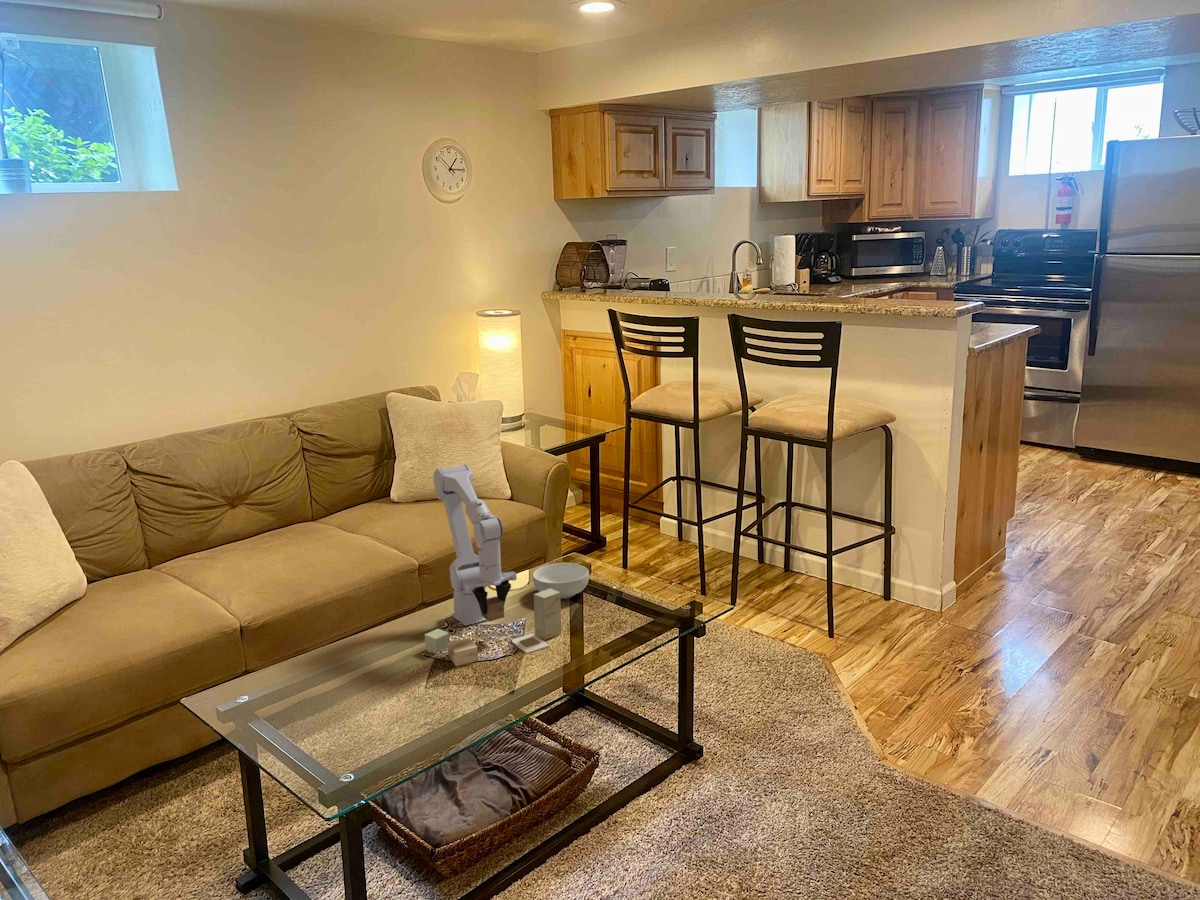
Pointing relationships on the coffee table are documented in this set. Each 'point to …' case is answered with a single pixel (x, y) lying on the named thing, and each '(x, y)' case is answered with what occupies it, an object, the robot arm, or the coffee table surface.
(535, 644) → the card
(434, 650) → the sage cube
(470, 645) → the maple base
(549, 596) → the skincare box
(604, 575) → the coffee table surface
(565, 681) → the coffee table surface
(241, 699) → the coffee table surface
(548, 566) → the cereal bowl
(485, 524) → the robot arm
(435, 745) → the coffee table surface
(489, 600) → the walnut cube
